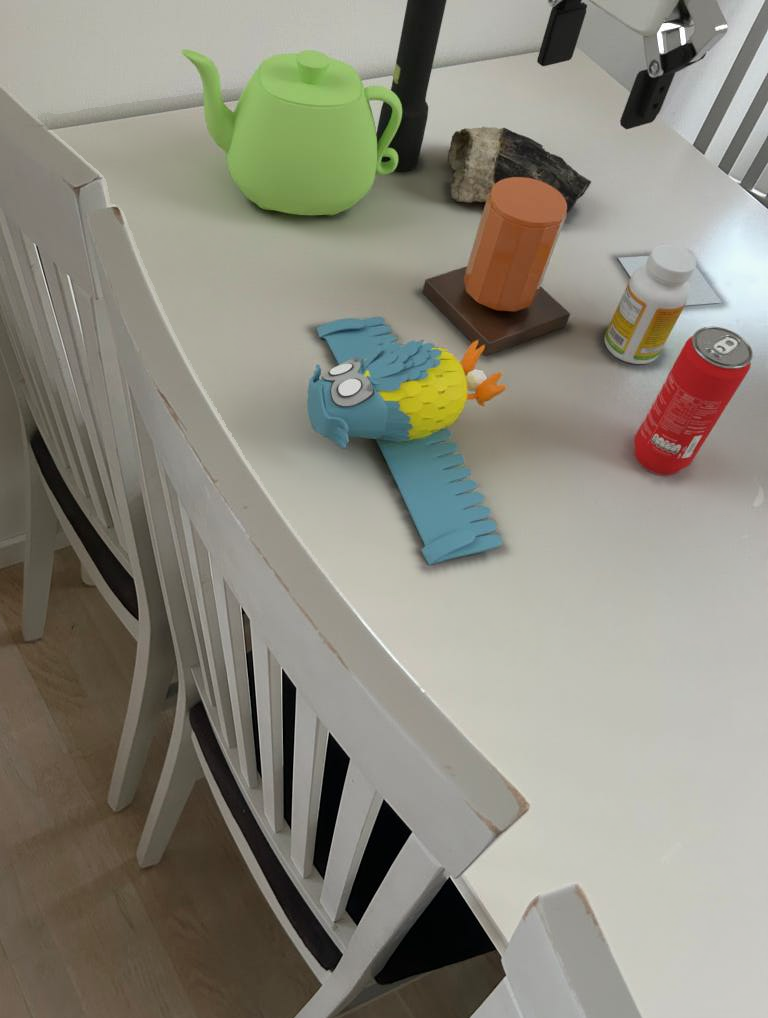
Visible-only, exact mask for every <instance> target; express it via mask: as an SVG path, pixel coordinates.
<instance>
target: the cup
mask: <svg viewBox="0 0 768 1018" xmlns="http://www.w3.org/2000/svg"><path fill="white" fill-rule="evenodd" d="M566 211H567V203H566V200H565V198H564V197H563V196H562V194H561V193H560V192H559V191H557V190H556V189H555V188H553V187H552V186H550V185H548V184H546V183H544V182H541V181H539V180H535V179H531V178H525V177H511V178H506V179H503V180H501V181H499V182H497V183H496V184H495V185H494V186H493V188H492V190H491V192H490V193H489V195H488V197H487V200H486V202H485V204H484V206H483V211H482V213H481V218H480V220H479V221H480V222H479V224H478V229H477V231H476V235H475V238H474V241H473V245H472V248H471V251H470V255H469V259H468V262H467V265H466V266H467V269H466V272H465V275H464V284H465V289H466V292H467V293H468V294H469V295H470V296H471V297H472V298H473V299H475V300H476V301H477V302H478V303H480V304H482V305H484V306H487V307H489V308H492V309H494V310H500V311H518V310H521V309H524V308H527V307H529V306H531V304H532V303H533V301H534V299H535V298H536V296H537V294H538V291H539V288H540V286H541V287H542V282H543V280H544V277H545V275H546V272H547V269H548V267H549V264H550V261H551V259H552V255H553V253H554V250H555V247H556V245H557V242H558V239H559V237H560V234H561V232H562V229H563V226H564V223H565V220H566V218H567V217H566V215H567V212H566ZM567 216H568V215H567Z"/></svg>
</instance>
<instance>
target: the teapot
mask: <svg viewBox="0 0 768 1018" xmlns="http://www.w3.org/2000/svg"><path fill="white" fill-rule="evenodd" d="M181 53H182V55H183V56H184V57H185V58H187V59H188V60H189V61H190V62H191V64H192V65H193V66H194V67H195V68H196V70H197V72H198V73H199V76H200V79H201V82H202V91H203V112H204V119H205V124H206V128H207V131H208V133H209V136H210V137H211V139H212V140H213V141H214V143H215V144H216V146H217V147H219V148H220V149H222V150H223V151H224V152H225V159H226V163H227V168H228V171H229V173H230V176H231V178H232V180H233V182H234V183H235V184H236V186H237V187H238V189H239V190H240V191H241V193H242V194H243V195H244V196H245V197H246V198H247V199H248V200H250V201H251V202H252V203H255V204H256V205H257V207H259V208H260V209H263V210H266V211H276V212H280V213H284V214H291V215H300V216H324V215H325V216H335V215H337V214H339V213H341V212H344V211H347V210H348V209H350V208H353V206H355V205H356V204H357V203H358V202H360V201H361V200H362V199H363V197H365V196H366V195H367V194H368V193H369V191H370V190H371V189H372V187H373V185H374V182H375V179H376V174H377V175H381V176H386V175H389V174H392V173H393V172H395V171H394V170H395V169H396V167H397V164H398V154H397V152H396V151H395V150H394V149H392V148H388V146H389V144H390V142H391V141H392V139H393V137H394V135H395V134H396V132H397V129H398V127H399V125H400V122H401V118H402V106H401V102H400V100H399V98H398V97H397V95H396V94H395V93H394V92H392V91H391V88H388V87H385V86H382V85H371V86H369V85H368V86H366V87H365V86H364V83H363V81H362V78H361V76H360V74H359V73H358V71H357V70H356V69H355V68H354V67H353V66H352V65H350V64H348V63H347V62H344V61H342V60H339V59H337V58H333V57H330V56H328V55H327V54H325V53H324V52H322V51H321V52H320V51H318V50H310V49H309V50H308V49H307V50H302V51H299V52H293V53H291V52H290V53H279V54H276V55H272V56H269V57H267V58H266V59H265V60H263V61H262V62H261V63H260V64H259V65H258V67H257V68H256V70H254V72H253V74H252V75H251V77H250V79H249V80H248V82H247V84H246V85H245V87H244V89H243V91H242V93H241V95H240V97H239V99H238V101H237V103H236V106H235V108H234V111H233V110H231V109H230V108H229V107H228V106H227V105H226V104H225V103H224V100H223V98H222V90H221V89H222V88H221V78H220V73H219V71H218V67H217V66H216V64H215V63H214V62H213V60H212V59H211V58H209V57H208V56H206V55H204V54H202V53H199V52H197V51H193V50H190V49H182V50H181ZM370 101H380V102H383V101H384V102H386V103H388V104H389V105H390V106H391V107H392V115H391V119H390V121H389V123H388V126H387V128H386V129H385V131H384V133H383V135H382V137H381V138H380V140H379V142H378V144H377V135H376V133H377V128H376V123H375V119H374V115H373V114H374V113H373V111H372V106H371V103H370ZM382 157H390V158H391V160H390V161H388V162H381V159H382Z"/></svg>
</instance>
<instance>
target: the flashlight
mask: <svg viewBox="0 0 768 1018" xmlns="http://www.w3.org/2000/svg"><path fill="white" fill-rule="evenodd" d="M447 1H448V0H406V6H405V12H404V17H403V23H402V27H401V28H402V29H401V33H400V38H399V45H398V50H397V54H396V55H397V56H396V60H395V65H394V71H393V73H392V81H391V82H392V83H391V87H390V90H391V91H392V92H394V93H395V94H396V95H397V97H398V98H399V100H400V102H401V106H402V118H401V122H400V125H399V127H398V129H397V132H396V134H395V135H394V137H393V139H392V141H391V142H390V144H389V146H388V148H392V149H394V150H395V151H396V152H397V154H398V164H397V167H396V169H395V170H394V171H393V172H408V171H411V170H414V169H415V168H416V167H417V165H418V163H419V159H420V156H421V155H420V154H421V150H422V147H423V146H422V145H423V142H424V138H425V137H424V136H425V131H426V126H427V122H428V116H429V105H428V102H427V101H426V100H427V93H428V88H429V83H430V78H431V73H432V71H433V70H432V69H433V65H434V61H435V56H436V51H437V47H438V43H439V37H440V33H441V28H442V24H443V18H444V15H445V10H446V4H447ZM391 115H392V107H391V106H390V105H389V104H388V103H386V102H384V101H382V105H381V108H380V113H379V118H378V123H377V128H376V135H377V144H378V142H379V140H380V138H381V137H382V135H383V133H384V131H385V129H386V128H387V126H388V123H389V121H390V119H391ZM390 160H391V158H390V157H382V159H381V162H388V161H390Z"/></svg>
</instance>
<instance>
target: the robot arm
mask: <svg viewBox="0 0 768 1018" xmlns="http://www.w3.org/2000/svg"><path fill="white" fill-rule="evenodd" d="M588 2H590V3H592V4H593V5H594V6H595V7H597V8H599V9H600V10H601V11H603V12H605V13H606V14H607V15H609V16H611V17H612V18H613V19H615V20H617V21H618V22H619V23H620V24H622V25H624V26H625V27H627V28H628V29H630V30H632V31H633V32H634V33H636V34H638V35H640V36H642V39H643V46H644V56H645V64H646V69H642V70H639V72H638V73H637V74H636V76H635V79H634V82H633V85H632V87H631V90H630V92H629V96H628V98H627V102H626V103H625V106H624V109H623V111H622V114H621V117H620V120H619V123H620V126H621V127H622V128H624V129H625V130H630V129H633V128H637V127H640V126H644V125H647V124H651V123H653V122H654V121H655V120H656V118H657V117H658V115H659V114H660V112H661V110H662V108H663V105H664V102H665V100H666V98H667V95H668V92H669V90H670V88H671V86H672V82H673V80H674V78H675V75H676V73H678V72H682V71H684V70H685V69H687V68H688V67H689V66H692V65H694V64H696V63H697V62H700V61H701V60H703V59H704V58H705V57H706V55H707V53H708V52H710V51H711V49H712V48H714V47H715V46H716V45H717V44H718V43H719V42H720V40H722V39H723V38H724V36H725V35H726V34H727V32H728V29H729V26H728V22H727V20H726V18H725V16H724V14H723V11H722V10H721V7H720V5H719V3H718V1H717V0H588ZM547 3H548V5H549V6H550V7H551V10H550V13H549V17H548V21H547V24H546V28H545V31H544V34H543V38H542V42H541V45H540V48H539V52H538V55H537V59H536V62H537V64H539V65H540V66H541V67H547V66H551V65H556V64H559V63H564V62H567V61H570V60H572V58H573V56H574V53H575V49H576V46H577V43H578V39H579V36H580V33H581V30H582V28H583V24H584V20H585V18H586V16H587V8H588V4H586V3H585V2H583V0H547ZM693 26H694V30H693V33H692V35H691V36H690V37H689V39H688V40H687V38H686V30H685V28H691V27H693ZM663 35H665V40H666V48H667V52H665V46H664V39H663Z"/></svg>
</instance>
